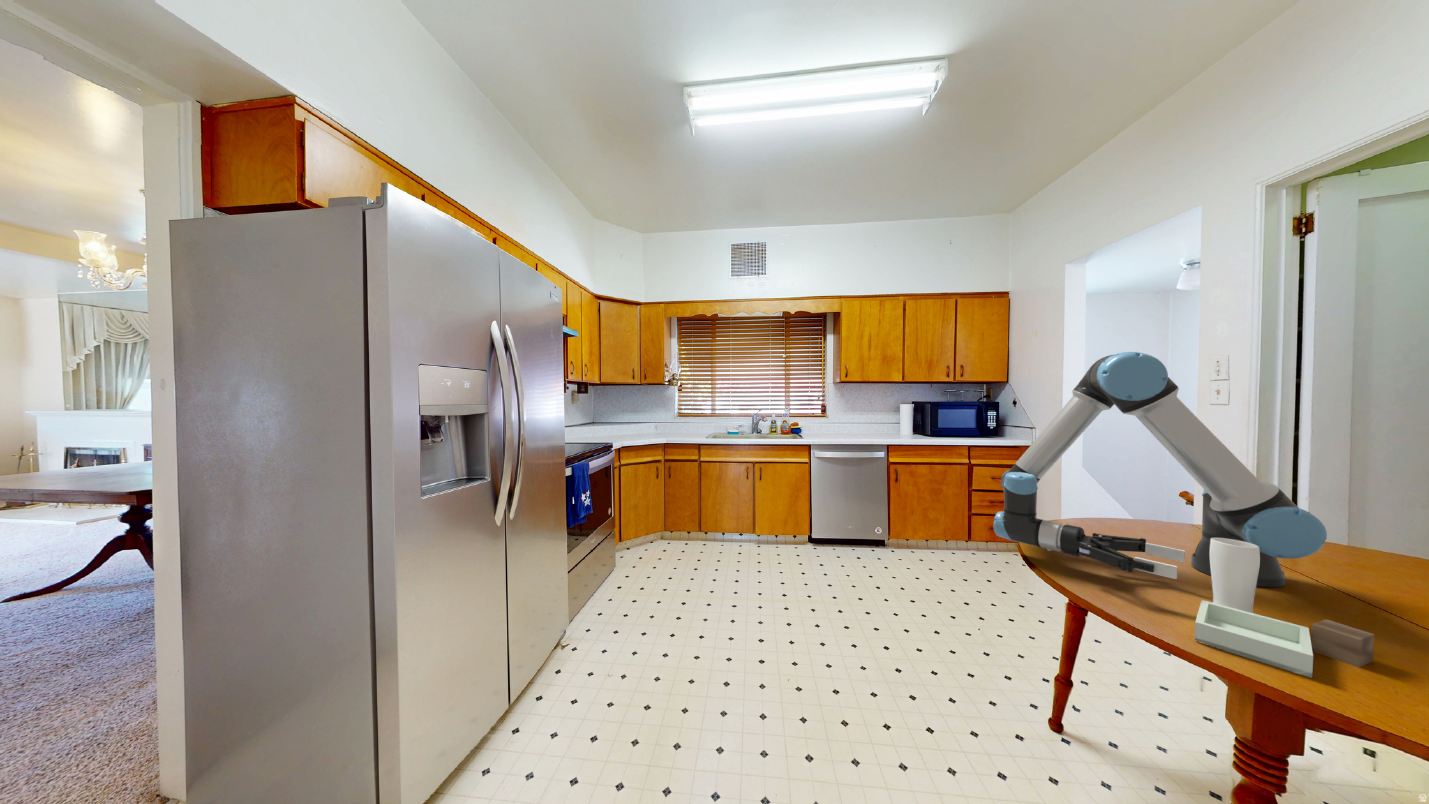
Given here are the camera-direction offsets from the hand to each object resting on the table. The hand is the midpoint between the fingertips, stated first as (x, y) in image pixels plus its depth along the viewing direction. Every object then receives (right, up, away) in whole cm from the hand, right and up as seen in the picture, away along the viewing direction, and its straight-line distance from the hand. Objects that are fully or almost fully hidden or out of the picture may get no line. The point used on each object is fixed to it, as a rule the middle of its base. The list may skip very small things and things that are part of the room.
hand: (1181, 564), depth 96 cm
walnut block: (+7, -9, -20) cm, 23 cm away
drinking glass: (+5, -8, -5) cm, 11 cm away
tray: (-5, -9, -16) cm, 19 cm away
